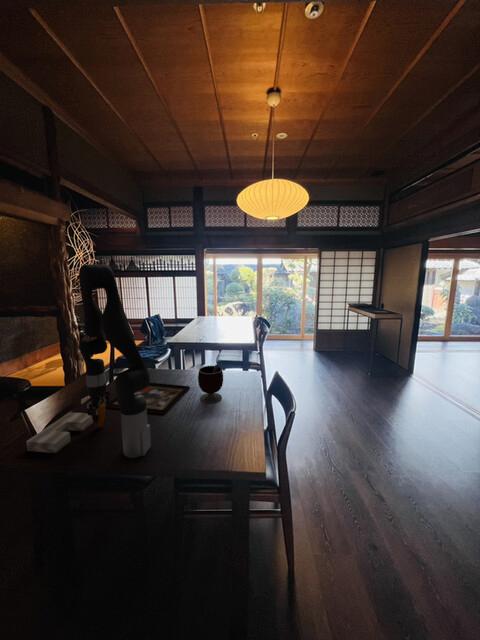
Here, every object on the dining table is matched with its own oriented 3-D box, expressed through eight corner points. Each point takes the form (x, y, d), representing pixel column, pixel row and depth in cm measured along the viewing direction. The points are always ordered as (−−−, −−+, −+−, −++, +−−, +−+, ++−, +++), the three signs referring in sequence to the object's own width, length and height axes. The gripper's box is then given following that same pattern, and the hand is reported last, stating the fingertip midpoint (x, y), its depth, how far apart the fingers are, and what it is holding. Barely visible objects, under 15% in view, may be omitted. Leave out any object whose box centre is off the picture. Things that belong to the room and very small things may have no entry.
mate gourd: (211, 407, 134) (210, 370, 130) (193, 399, 142) (192, 365, 139) (230, 396, 146) (230, 363, 143) (212, 390, 154) (212, 358, 151)
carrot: (93, 427, 115) (89, 396, 113) (104, 422, 118) (102, 392, 116) (96, 431, 112) (93, 399, 109) (108, 427, 115) (105, 396, 113)
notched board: (94, 421, 120) (93, 413, 119) (55, 453, 98) (54, 443, 97) (70, 420, 121) (69, 412, 120) (27, 450, 99) (26, 441, 99)
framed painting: (191, 386, 160) (191, 382, 160) (171, 416, 126) (171, 411, 125) (134, 384, 164) (134, 380, 163) (99, 413, 129) (98, 408, 129)
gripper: (93, 390, 104) (97, 428, 107) (114, 377, 118) (117, 411, 121) (76, 389, 105) (80, 427, 108) (99, 376, 119) (102, 410, 122)
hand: (99, 418), depth 114 cm, fingers closed on carrot, 5 cm apart
